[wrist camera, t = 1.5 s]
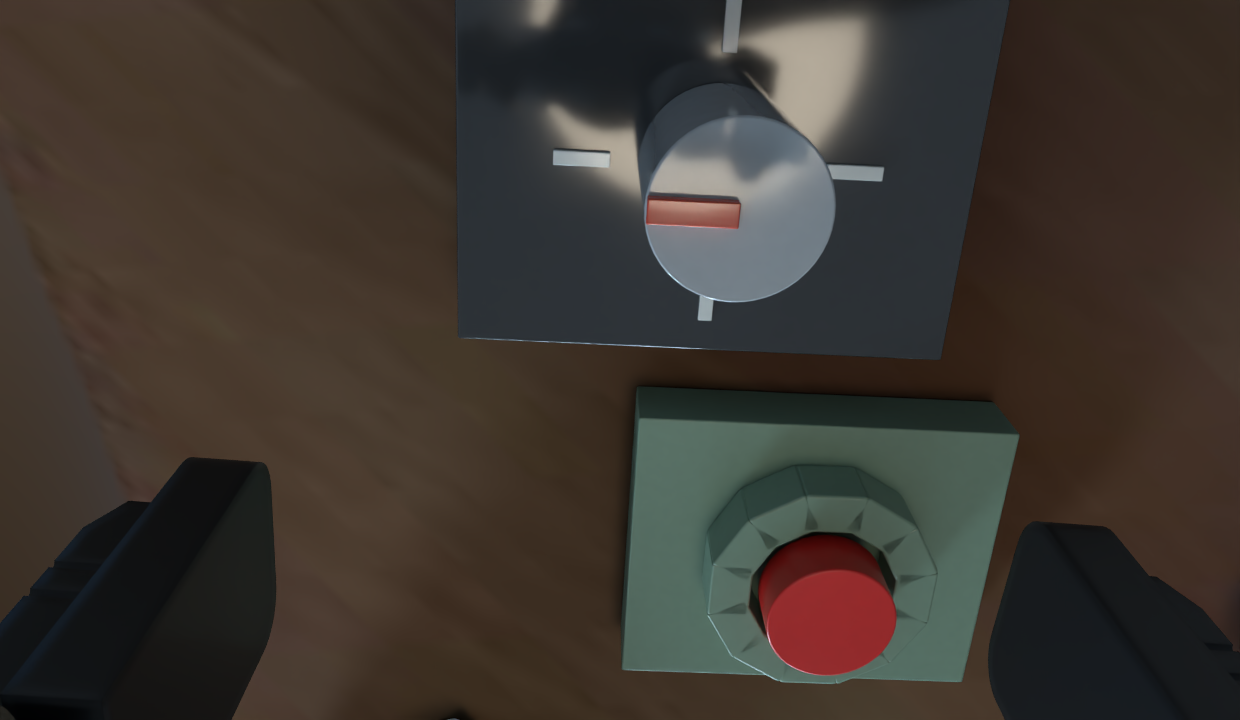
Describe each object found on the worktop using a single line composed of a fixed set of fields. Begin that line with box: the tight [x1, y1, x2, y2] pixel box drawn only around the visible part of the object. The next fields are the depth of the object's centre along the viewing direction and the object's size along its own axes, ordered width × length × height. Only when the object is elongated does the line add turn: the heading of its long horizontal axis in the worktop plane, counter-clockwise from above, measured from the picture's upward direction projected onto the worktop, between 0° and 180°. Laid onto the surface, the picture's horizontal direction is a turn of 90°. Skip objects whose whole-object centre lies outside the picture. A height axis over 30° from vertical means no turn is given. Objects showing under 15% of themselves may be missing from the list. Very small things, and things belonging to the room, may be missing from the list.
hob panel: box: [455, 0, 1010, 360], centre depth 27 cm, size 13×10×3 cm
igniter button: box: [758, 535, 897, 675], centre depth 29 cm, size 4×4×2 cm
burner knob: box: [638, 83, 836, 302], centre depth 23 cm, size 4×4×5 cm
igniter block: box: [621, 386, 1019, 684], centre depth 31 cm, size 11×9×4 cm
